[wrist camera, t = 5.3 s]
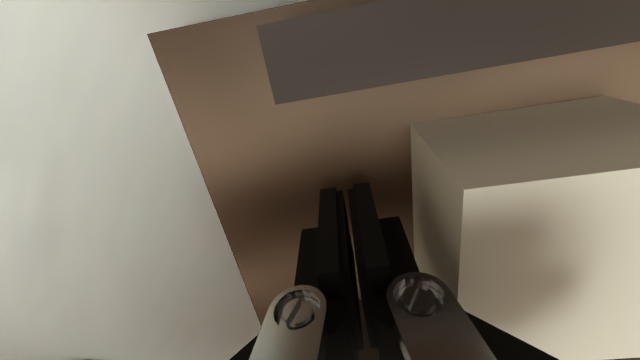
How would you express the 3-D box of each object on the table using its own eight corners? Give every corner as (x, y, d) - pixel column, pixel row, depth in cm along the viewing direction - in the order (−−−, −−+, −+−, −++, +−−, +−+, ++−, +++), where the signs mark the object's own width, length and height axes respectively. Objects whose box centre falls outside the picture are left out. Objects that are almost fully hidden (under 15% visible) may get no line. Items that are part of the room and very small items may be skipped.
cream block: (566, 245, 12) (684, 354, 8) (414, 261, 13) (453, 369, 9) (605, 95, 9) (810, 146, 5) (410, 124, 10) (463, 189, 6)
